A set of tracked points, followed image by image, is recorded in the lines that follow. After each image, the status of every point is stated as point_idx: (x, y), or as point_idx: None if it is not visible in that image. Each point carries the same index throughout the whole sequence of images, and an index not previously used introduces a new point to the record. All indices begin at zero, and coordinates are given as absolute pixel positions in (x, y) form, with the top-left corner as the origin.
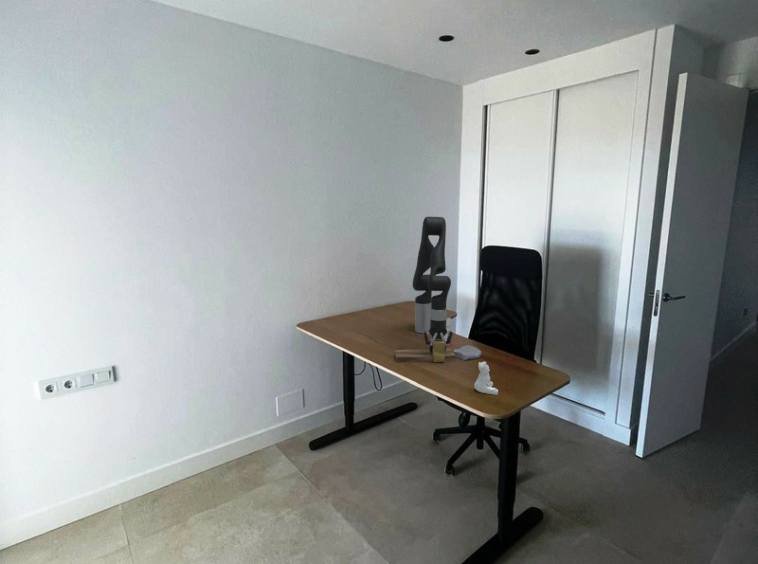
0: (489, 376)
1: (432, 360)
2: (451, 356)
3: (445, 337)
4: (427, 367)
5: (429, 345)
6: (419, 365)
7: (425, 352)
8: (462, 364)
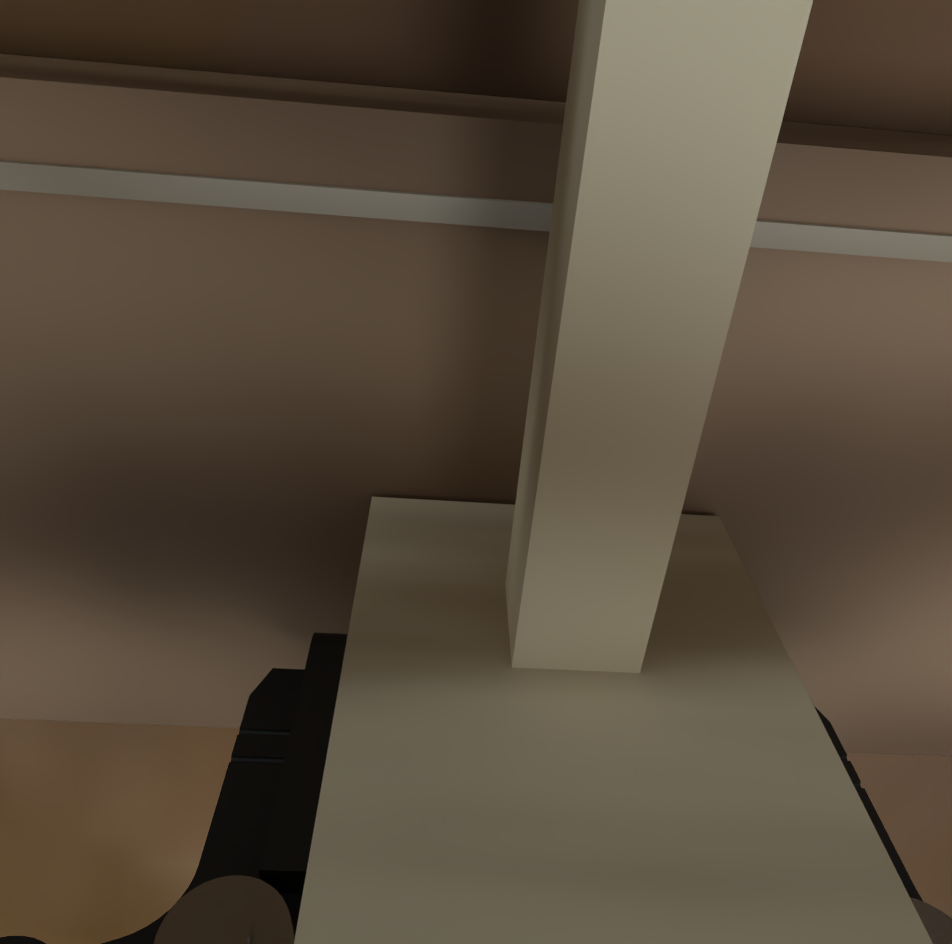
0: None
1: None
2: (846, 745)
3: None
4: None
5: (202, 876)
6: (57, 767)
7: (172, 442)
8: (914, 802)
